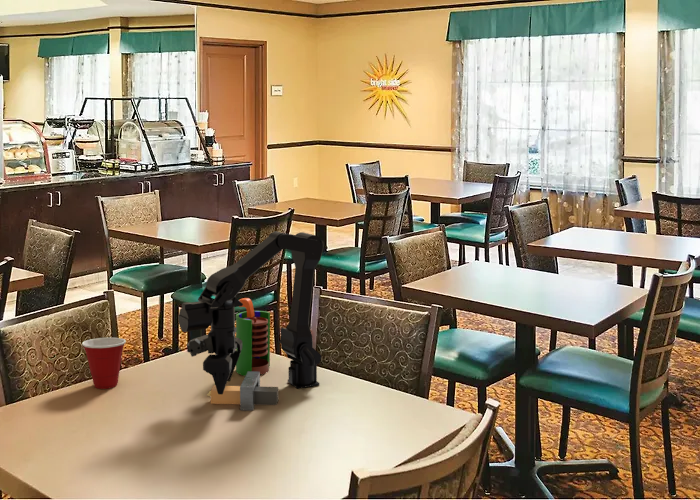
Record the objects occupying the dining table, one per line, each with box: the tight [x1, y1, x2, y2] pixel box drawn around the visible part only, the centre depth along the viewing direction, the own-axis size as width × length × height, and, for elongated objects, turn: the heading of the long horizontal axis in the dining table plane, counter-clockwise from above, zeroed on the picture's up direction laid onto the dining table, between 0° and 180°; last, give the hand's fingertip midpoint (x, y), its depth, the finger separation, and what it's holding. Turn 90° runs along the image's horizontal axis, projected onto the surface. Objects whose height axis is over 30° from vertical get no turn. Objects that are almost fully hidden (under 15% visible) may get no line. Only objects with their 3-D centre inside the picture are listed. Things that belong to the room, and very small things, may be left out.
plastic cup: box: [81, 337, 127, 390], centre depth 202 cm, size 11×11×12 cm
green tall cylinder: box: [235, 297, 271, 377], centre depth 214 cm, size 10×9×20 cm
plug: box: [206, 385, 279, 406], centre depth 192 cm, size 17×3×3 cm, turn 88°
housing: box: [239, 371, 261, 411], centre depth 192 cm, size 3×11×6 cm, turn 178°
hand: (224, 387), depth 192 cm, fingers open, 9 cm apart
